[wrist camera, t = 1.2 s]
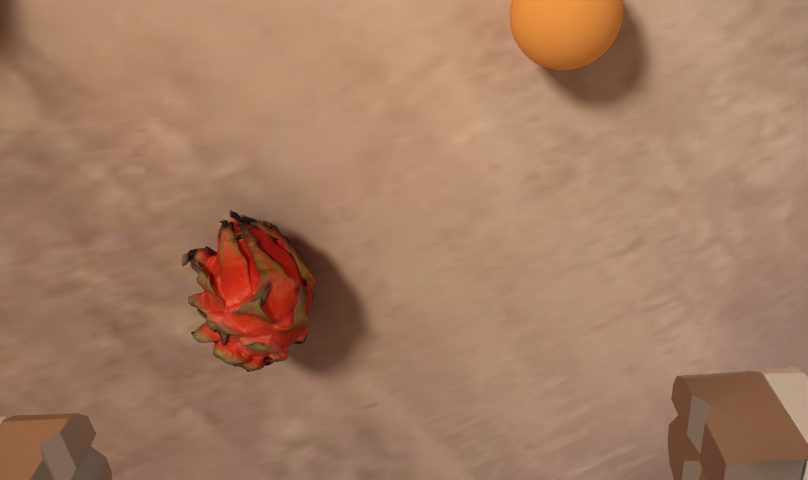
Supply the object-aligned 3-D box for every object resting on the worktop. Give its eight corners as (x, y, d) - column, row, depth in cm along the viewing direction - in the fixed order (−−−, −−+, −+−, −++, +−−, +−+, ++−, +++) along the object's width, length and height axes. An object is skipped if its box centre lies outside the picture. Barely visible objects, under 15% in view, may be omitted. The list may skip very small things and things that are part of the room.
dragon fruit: (270, 325, 55) (251, 179, 51) (350, 357, 50) (337, 199, 46) (178, 375, 49) (147, 214, 45) (260, 418, 44) (234, 242, 40)
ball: (502, -48, 39) (514, -29, 34) (611, -61, 39) (640, -43, 34) (506, 57, 42) (518, 90, 37) (607, 47, 42) (633, 78, 37)
